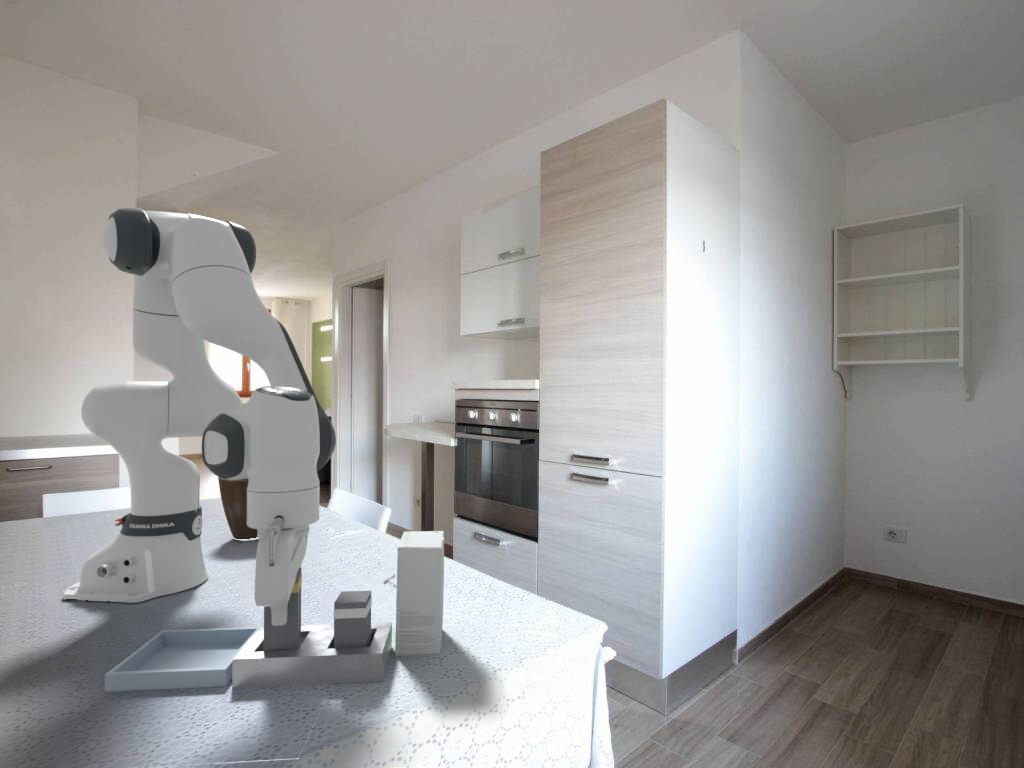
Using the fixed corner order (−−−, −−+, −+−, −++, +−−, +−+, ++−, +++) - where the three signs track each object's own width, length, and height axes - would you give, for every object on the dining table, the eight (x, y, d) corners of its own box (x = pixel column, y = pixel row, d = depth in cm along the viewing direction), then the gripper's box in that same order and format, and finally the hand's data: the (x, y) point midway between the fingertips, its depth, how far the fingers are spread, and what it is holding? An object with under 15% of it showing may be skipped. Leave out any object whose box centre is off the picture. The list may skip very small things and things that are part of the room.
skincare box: (401, 632, 81) (402, 530, 81) (445, 631, 81) (445, 529, 82) (394, 660, 73) (394, 546, 73) (442, 658, 73) (443, 545, 73)
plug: (263, 651, 67) (263, 579, 67) (268, 637, 71) (269, 569, 71) (297, 647, 68) (298, 576, 68) (301, 633, 72) (301, 566, 72)
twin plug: (333, 673, 68) (333, 603, 68) (340, 657, 72) (341, 591, 72) (365, 672, 68) (366, 602, 69) (371, 656, 73) (371, 590, 73)
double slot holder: (232, 692, 65) (232, 659, 65) (260, 656, 74) (260, 627, 74) (381, 685, 66) (382, 653, 66) (391, 650, 75) (391, 622, 75)
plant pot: (294, 535, 137) (295, 473, 137) (239, 549, 124) (239, 481, 125) (261, 527, 145) (261, 469, 145) (205, 540, 132) (206, 476, 133)
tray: (104, 696, 64) (104, 674, 64) (161, 648, 76) (161, 630, 76) (225, 690, 65) (225, 669, 65) (262, 644, 77) (262, 626, 77)
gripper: (300, 525, 61) (299, 647, 60) (315, 494, 80) (315, 585, 80) (240, 529, 59) (239, 655, 59) (270, 496, 79) (269, 590, 78)
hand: (283, 614), depth 69 cm, fingers closed on plug, 4 cm apart
